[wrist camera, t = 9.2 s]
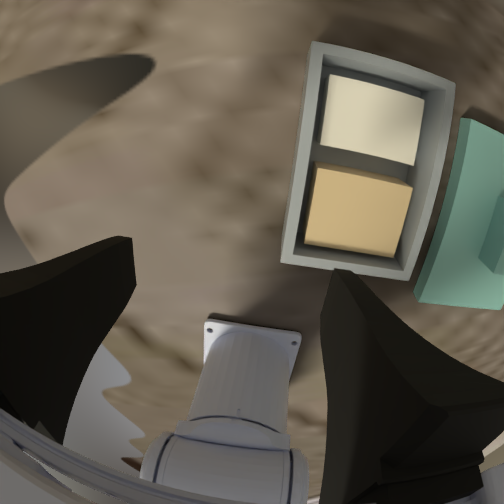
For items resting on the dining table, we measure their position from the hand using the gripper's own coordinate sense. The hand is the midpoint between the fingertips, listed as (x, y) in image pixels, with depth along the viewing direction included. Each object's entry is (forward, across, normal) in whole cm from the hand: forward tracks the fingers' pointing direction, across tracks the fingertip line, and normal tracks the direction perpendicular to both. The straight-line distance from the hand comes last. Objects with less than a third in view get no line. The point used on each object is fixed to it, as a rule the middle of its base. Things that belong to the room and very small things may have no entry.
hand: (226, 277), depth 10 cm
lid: (+10, -18, -1) cm, 21 cm away
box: (+10, -6, -4) cm, 12 cm away
